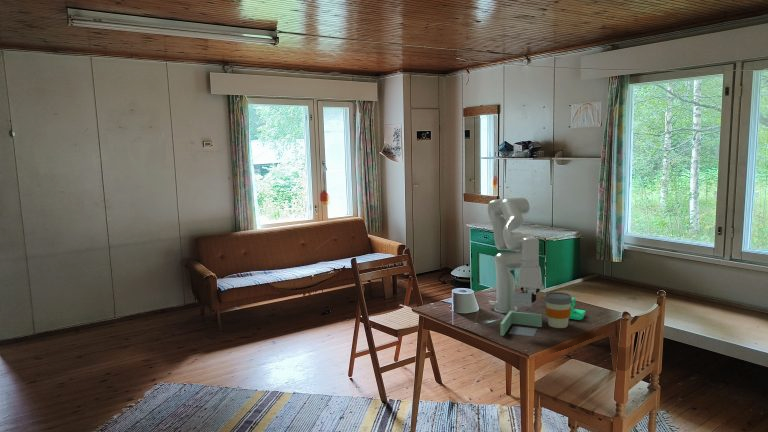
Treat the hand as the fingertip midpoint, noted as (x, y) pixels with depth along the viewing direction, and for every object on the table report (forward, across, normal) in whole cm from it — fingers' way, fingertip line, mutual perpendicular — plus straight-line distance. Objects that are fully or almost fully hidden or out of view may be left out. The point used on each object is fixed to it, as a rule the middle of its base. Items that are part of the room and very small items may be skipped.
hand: (530, 301), depth 250 cm
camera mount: (+15, +17, +30) cm, 37 cm away
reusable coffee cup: (+15, +11, +14) cm, 23 cm away
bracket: (+1, -3, 0) cm, 3 cm away
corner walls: (+15, -4, 0) cm, 15 cm away
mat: (+15, -3, -1) cm, 15 cm away
